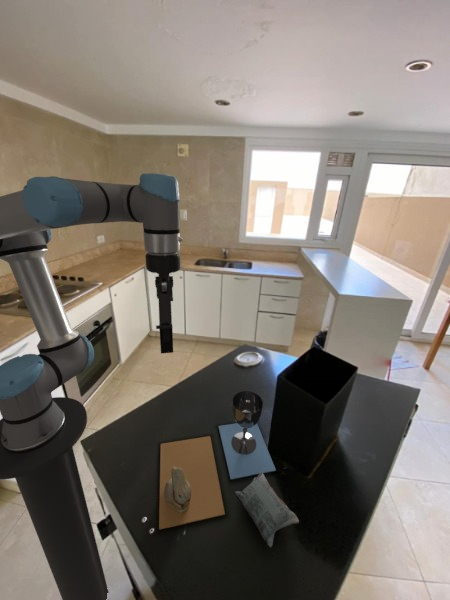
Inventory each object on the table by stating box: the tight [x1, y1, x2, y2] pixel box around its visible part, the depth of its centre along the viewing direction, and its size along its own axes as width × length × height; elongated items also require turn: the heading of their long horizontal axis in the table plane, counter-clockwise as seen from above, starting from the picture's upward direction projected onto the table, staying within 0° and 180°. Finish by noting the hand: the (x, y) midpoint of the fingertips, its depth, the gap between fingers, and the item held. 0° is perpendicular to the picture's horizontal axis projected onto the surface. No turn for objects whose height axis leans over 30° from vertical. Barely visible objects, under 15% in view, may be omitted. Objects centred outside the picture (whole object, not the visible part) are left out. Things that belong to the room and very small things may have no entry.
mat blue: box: [217, 422, 277, 480], centre depth 71 cm, size 16×12×1 cm
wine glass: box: [231, 390, 264, 455], centre depth 69 cm, size 8×8×15 cm
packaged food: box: [234, 471, 300, 548], centre depth 55 cm, size 9×12×5 cm
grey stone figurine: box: [165, 467, 191, 513], centre depth 56 cm, size 6×8×10 cm
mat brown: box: [158, 435, 226, 530], centre depth 63 cm, size 20×14×1 cm
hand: (166, 337), depth 63 cm, fingers open, 13 cm apart
